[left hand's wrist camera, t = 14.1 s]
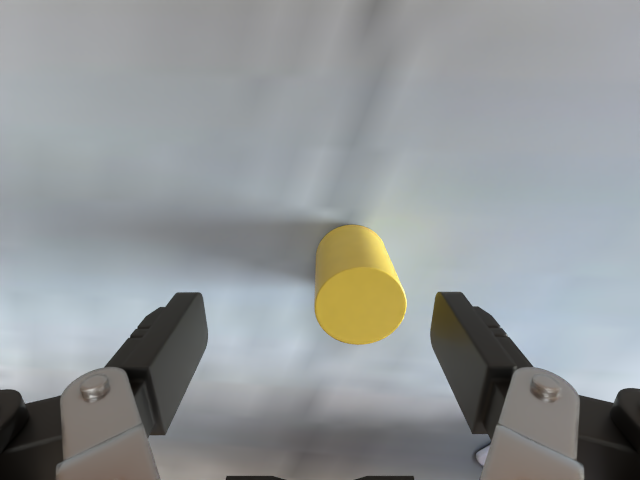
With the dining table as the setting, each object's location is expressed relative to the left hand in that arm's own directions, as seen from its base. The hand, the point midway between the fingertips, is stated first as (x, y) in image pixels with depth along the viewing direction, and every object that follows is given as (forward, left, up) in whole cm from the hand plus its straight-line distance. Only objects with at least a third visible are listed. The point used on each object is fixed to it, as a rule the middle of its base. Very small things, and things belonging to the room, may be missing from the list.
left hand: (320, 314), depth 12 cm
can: (0, +2, -7) cm, 7 cm away
